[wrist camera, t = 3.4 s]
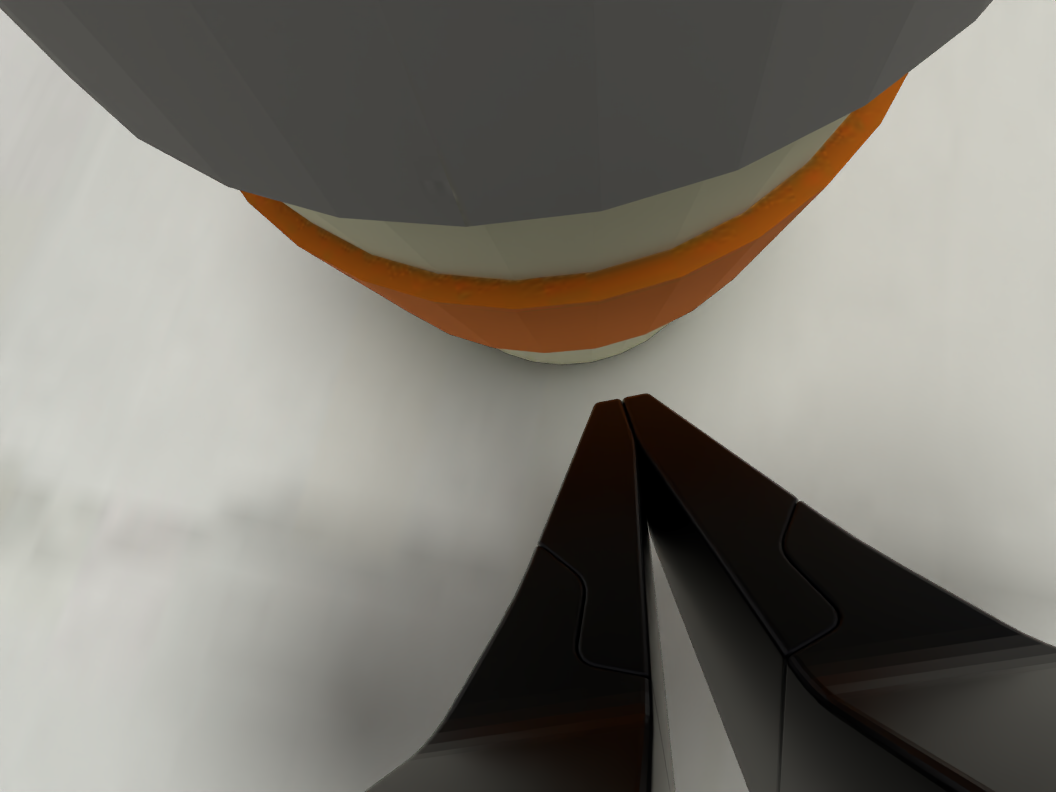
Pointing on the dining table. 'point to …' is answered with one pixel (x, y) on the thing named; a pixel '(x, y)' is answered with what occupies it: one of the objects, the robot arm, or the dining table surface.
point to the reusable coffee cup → (509, 137)
